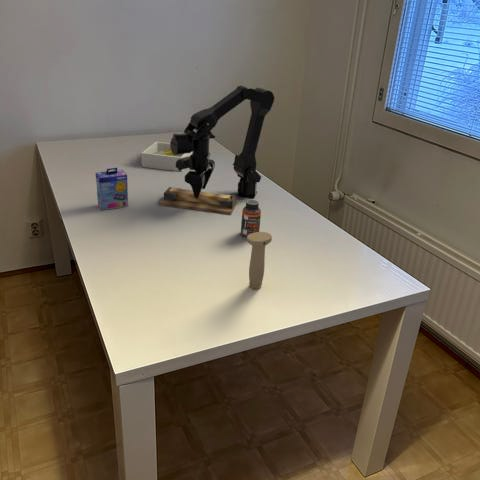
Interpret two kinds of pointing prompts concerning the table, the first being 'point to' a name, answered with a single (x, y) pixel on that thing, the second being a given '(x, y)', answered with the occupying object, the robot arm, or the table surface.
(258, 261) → the handle
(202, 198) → the slat
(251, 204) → the supplement bottle
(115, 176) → the ink cartridge box
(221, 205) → the endcap frame
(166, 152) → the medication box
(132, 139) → the table surface
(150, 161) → the tray
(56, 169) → the table surface
